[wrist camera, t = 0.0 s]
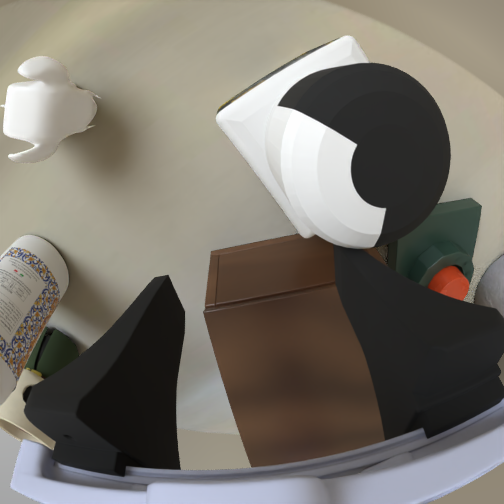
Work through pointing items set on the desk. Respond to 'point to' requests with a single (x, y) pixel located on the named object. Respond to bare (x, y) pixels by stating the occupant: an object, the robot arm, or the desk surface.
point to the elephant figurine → (45, 108)
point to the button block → (438, 243)
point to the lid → (295, 376)
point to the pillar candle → (492, 287)
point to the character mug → (36, 369)
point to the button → (450, 283)
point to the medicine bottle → (343, 145)
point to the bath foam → (26, 302)
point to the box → (271, 269)
